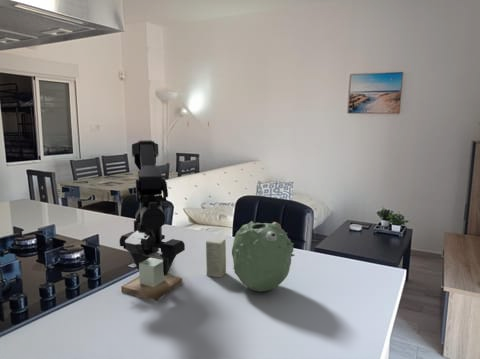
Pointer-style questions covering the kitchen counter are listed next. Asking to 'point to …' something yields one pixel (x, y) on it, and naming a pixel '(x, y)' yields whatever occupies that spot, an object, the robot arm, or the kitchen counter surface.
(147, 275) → the block
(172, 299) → the kitchen counter surface
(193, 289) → the kitchen counter surface
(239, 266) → the green bumpy vase
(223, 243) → the box
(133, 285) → the plinth
